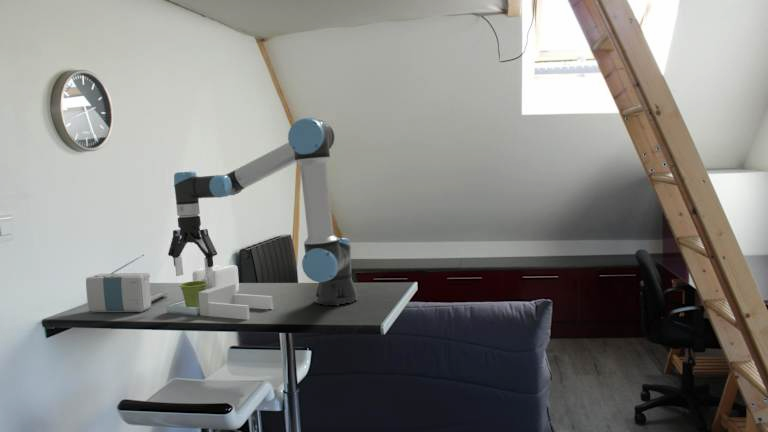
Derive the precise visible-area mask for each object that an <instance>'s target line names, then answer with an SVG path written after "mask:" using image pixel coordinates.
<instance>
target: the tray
mask: <svg viewBox="0 0 768 432" xmlns="http://www.w3.org/2000/svg"><path fill="white" fill-rule="evenodd" d="M166 311H167V314H172V315H183V316H193V317H195V316H196V317H197V316H201V315H200V307H197V308H195V307H186V305H185V300H184V299H183V300H182V301H178V302H175V303H172V304H169V305H166Z"/></svg>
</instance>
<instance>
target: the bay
mask: <svg viewBox="0 0 768 432" xmlns="http://www.w3.org/2000/svg"><path fill="white" fill-rule="evenodd" d="M198 293H199V307H200V315H199V316H204V317H205V316H206V317H214V318H215V317H216V318H224V319H225V318H226V319H237V320H246V321H247V320H248V321H249V320H250V319H251V318H250V309H256V310H257V309H258V310H268V309H272V310H274V296H272V295H260V294H246V293H245V294H244V293H236V286H235V284H223V285H220V286H217V287H214V288H210V289H207V290H204V291H201V292H198Z"/></svg>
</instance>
